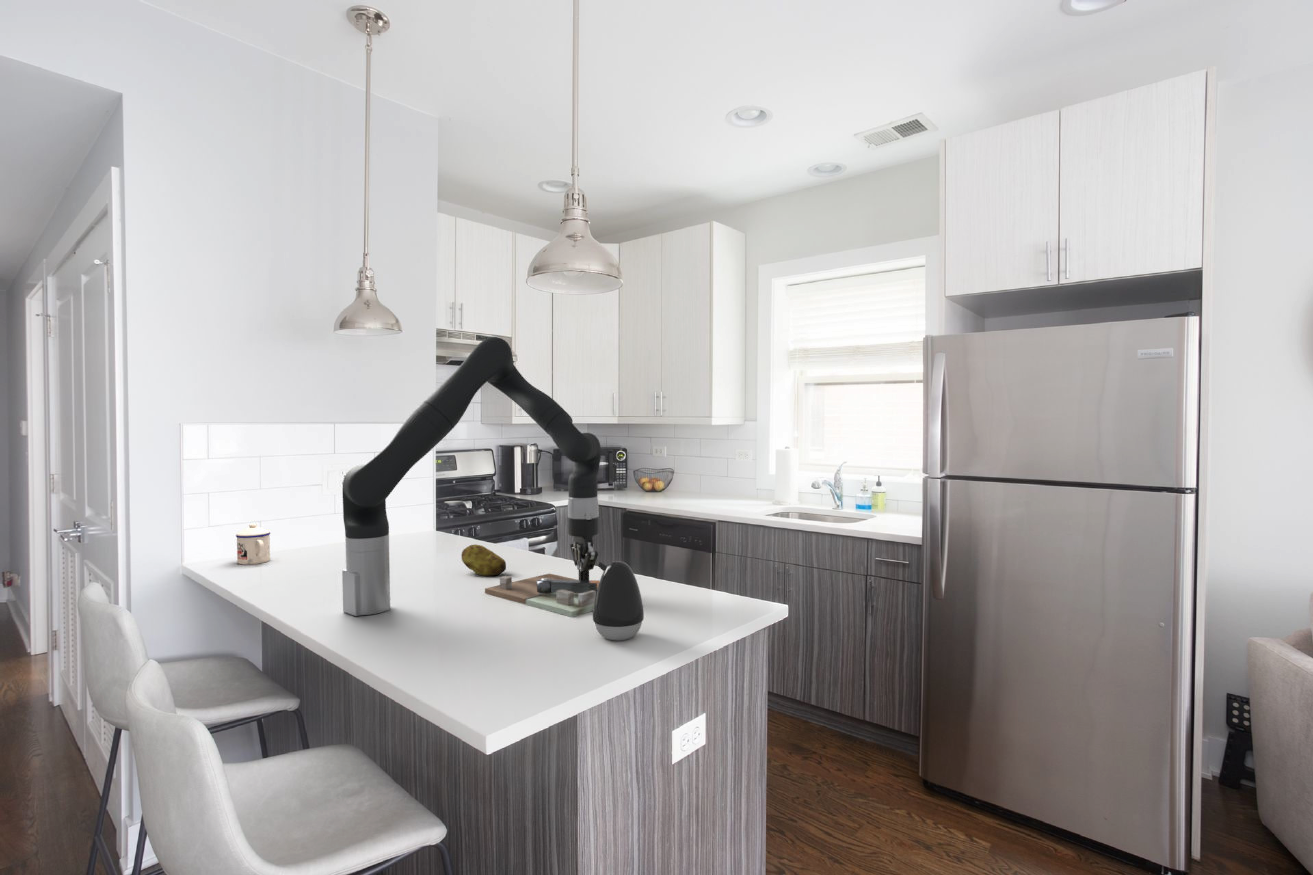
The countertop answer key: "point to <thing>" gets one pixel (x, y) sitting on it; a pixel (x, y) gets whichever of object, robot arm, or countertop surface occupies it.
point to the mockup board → (544, 595)
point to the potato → (483, 560)
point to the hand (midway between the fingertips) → (584, 585)
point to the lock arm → (566, 585)
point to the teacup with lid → (253, 545)
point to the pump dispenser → (617, 602)
